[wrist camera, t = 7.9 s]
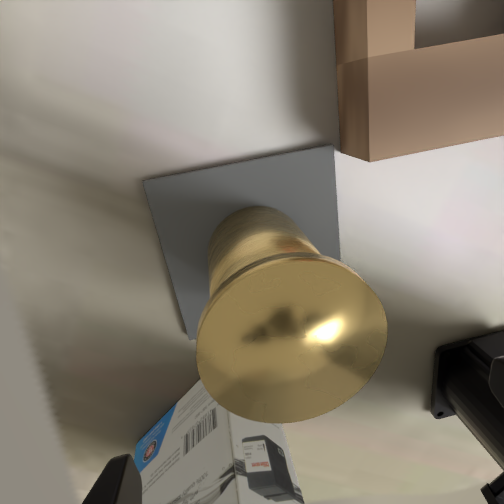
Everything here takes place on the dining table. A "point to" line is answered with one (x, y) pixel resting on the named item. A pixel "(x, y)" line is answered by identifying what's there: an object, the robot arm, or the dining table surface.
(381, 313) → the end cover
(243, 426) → the ink box
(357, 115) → the bore block
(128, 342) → the dining table surface
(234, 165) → the felt pad
